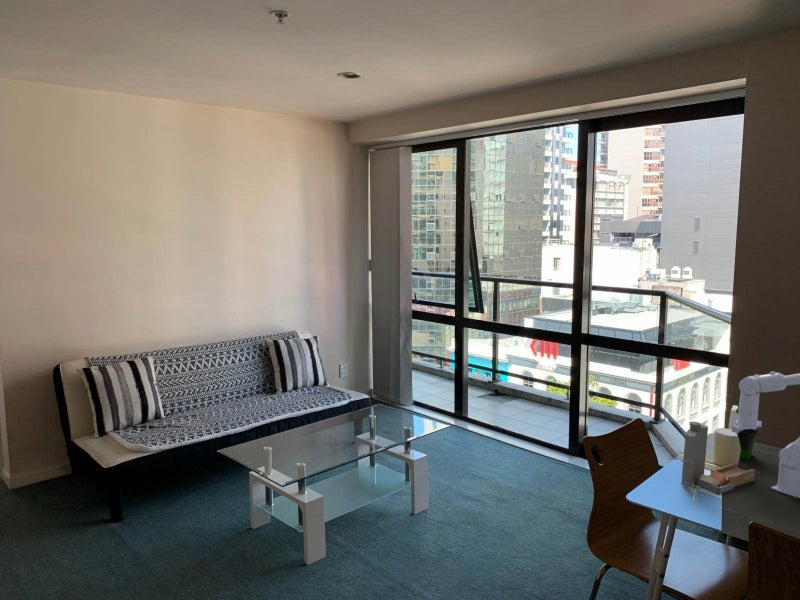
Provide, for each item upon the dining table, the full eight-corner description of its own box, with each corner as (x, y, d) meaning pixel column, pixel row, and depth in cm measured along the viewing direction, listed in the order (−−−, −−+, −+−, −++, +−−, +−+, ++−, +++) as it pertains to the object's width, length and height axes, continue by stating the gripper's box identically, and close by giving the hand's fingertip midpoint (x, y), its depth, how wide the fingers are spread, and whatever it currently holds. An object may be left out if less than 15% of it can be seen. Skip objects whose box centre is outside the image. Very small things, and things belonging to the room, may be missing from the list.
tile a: (726, 478, 197) (725, 474, 196) (720, 487, 195) (718, 483, 195) (715, 474, 200) (713, 470, 199) (709, 482, 199) (707, 479, 198)
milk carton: (725, 455, 225) (730, 404, 223) (727, 448, 233) (731, 399, 231) (752, 460, 221) (757, 408, 218) (753, 453, 228) (758, 403, 226)
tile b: (713, 478, 193) (711, 483, 192) (719, 483, 194) (716, 488, 194) (702, 473, 196) (699, 479, 196) (707, 479, 198) (704, 484, 197)
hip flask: (690, 488, 195) (694, 429, 192) (677, 484, 198) (681, 426, 195) (705, 474, 206) (709, 419, 204) (692, 471, 209) (697, 416, 207)
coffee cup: (733, 459, 221) (736, 428, 220) (745, 469, 212) (748, 437, 211) (707, 458, 222) (709, 427, 221) (718, 467, 213) (720, 435, 212)
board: (754, 480, 202) (755, 470, 202) (730, 488, 195) (731, 477, 195) (733, 473, 208) (734, 462, 208) (709, 480, 201) (710, 470, 201)
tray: (733, 489, 195) (733, 483, 194) (718, 494, 191) (719, 488, 190) (709, 480, 201) (710, 474, 201) (695, 485, 197) (696, 479, 197)
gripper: (748, 405, 209) (745, 442, 211) (724, 410, 202) (721, 449, 204) (769, 410, 203) (765, 449, 205) (745, 416, 196) (741, 456, 198)
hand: (744, 449), depth 204 cm, fingers closed
